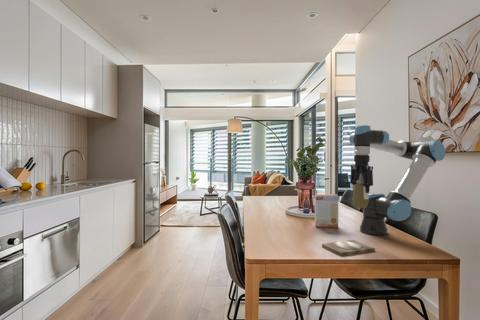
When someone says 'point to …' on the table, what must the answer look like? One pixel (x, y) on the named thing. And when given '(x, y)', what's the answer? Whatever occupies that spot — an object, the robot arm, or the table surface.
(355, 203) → the squeeze bottle
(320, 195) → the cracker box
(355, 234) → the table surface
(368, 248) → the walnut board
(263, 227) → the table surface
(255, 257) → the table surface
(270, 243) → the table surface
